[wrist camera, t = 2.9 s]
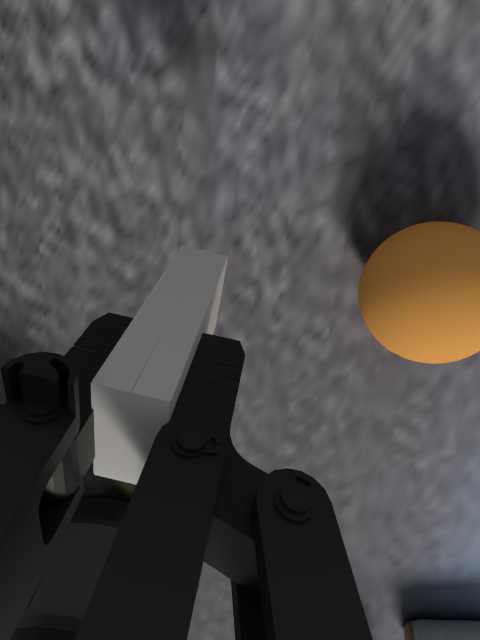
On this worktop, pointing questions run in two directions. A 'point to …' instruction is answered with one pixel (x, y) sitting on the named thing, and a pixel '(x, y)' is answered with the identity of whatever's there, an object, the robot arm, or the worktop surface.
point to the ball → (425, 292)
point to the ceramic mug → (442, 630)
